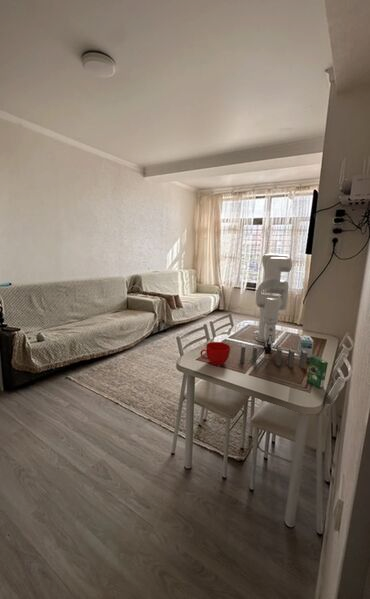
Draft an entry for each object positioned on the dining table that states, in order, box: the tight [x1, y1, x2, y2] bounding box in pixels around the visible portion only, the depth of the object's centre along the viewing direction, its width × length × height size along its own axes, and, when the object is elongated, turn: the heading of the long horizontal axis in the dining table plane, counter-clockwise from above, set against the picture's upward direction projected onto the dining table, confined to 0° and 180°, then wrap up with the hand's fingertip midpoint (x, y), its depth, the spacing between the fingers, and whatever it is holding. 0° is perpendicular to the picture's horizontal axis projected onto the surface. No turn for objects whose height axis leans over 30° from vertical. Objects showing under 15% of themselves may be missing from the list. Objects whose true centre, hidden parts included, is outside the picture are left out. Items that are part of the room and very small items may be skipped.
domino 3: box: [263, 340, 270, 360], centre depth 156 cm, size 2×5×9 cm, turn 171°
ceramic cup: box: [199, 341, 231, 367], centre depth 153 cm, size 13×17×10 cm
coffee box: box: [306, 355, 329, 389], centre depth 134 cm, size 8×3×13 cm, turn 22°
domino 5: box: [286, 348, 296, 368], centre depth 155 cm, size 2×5×9 cm, turn 171°
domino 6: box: [298, 350, 308, 370], centre depth 154 cm, size 2×5×9 cm, turn 171°
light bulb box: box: [296, 334, 315, 359], centre depth 172 cm, size 11×7×11 cm, turn 168°
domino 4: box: [274, 346, 283, 367], centre depth 156 cm, size 2×5×9 cm, turn 171°
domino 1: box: [239, 343, 247, 363], centre depth 159 cm, size 2×5×9 cm, turn 171°
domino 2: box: [251, 344, 258, 365], centre depth 158 cm, size 2×5×9 cm, turn 171°
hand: (266, 351), depth 156 cm, fingers closed on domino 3, 4 cm apart
